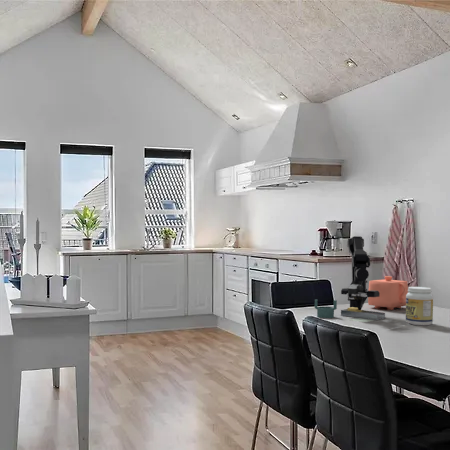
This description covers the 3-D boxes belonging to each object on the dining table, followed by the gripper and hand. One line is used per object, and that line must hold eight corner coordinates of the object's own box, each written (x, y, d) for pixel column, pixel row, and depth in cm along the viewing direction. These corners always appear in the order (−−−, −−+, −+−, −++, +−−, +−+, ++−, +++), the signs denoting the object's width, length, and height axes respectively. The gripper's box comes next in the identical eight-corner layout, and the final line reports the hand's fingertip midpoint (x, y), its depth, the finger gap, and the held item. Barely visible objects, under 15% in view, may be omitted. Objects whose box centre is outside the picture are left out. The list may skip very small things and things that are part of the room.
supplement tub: (400, 322, 286) (400, 286, 286) (420, 321, 291) (421, 286, 291) (417, 326, 275) (417, 289, 275) (438, 325, 280) (439, 288, 280)
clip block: (360, 317, 301) (352, 316, 304) (360, 308, 301) (352, 307, 304) (356, 318, 298) (347, 316, 301) (356, 308, 298) (347, 307, 301)
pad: (357, 319, 293) (357, 318, 293) (374, 321, 287) (374, 320, 287) (347, 321, 287) (347, 320, 287) (364, 323, 281) (364, 322, 281)
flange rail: (350, 314, 308) (350, 308, 308) (385, 319, 294) (385, 312, 294) (340, 316, 301) (341, 310, 301) (376, 321, 288) (376, 314, 288)
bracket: (338, 318, 295) (338, 300, 295) (323, 319, 291) (323, 301, 291) (326, 316, 303) (326, 298, 303) (311, 317, 298) (312, 299, 298)
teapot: (386, 303, 355) (386, 273, 355) (421, 308, 338) (421, 276, 338) (361, 307, 338) (362, 275, 338) (397, 311, 321) (397, 278, 321)
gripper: (335, 278, 299) (334, 309, 299) (368, 280, 287) (368, 313, 287) (347, 276, 307) (346, 307, 307) (380, 279, 295) (379, 311, 295)
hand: (359, 309), depth 299 cm, fingers closed
